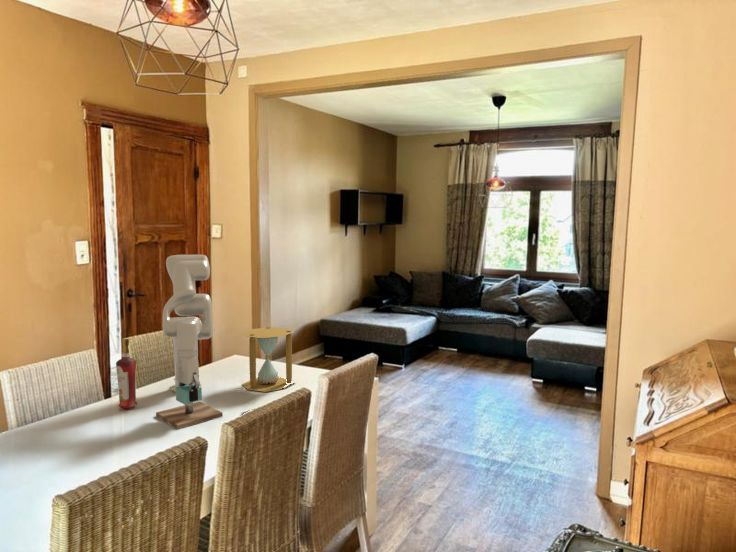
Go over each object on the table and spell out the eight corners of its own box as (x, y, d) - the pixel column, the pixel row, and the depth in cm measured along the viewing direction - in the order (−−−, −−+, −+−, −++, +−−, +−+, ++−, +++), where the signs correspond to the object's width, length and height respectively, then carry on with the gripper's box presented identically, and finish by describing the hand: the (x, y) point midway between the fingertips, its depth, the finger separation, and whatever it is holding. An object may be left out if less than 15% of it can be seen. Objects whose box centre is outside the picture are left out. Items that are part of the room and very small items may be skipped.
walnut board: (156, 416, 203) (156, 412, 203) (199, 404, 216) (199, 401, 216) (177, 429, 190) (177, 425, 190) (222, 416, 203) (222, 412, 203)
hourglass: (272, 374, 260) (271, 324, 257) (304, 383, 245) (303, 330, 243) (232, 385, 241) (231, 331, 239) (264, 395, 227) (263, 338, 225)
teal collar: (176, 400, 202) (175, 387, 202) (193, 395, 207) (192, 383, 207) (184, 404, 197) (184, 391, 197) (201, 400, 202) (201, 387, 202)
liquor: (113, 409, 210) (110, 340, 208) (129, 403, 217) (126, 336, 214) (126, 412, 207) (123, 342, 204) (141, 406, 213) (139, 338, 211)
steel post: (183, 412, 203) (183, 397, 202) (191, 410, 205) (190, 395, 204) (187, 414, 201) (187, 399, 200) (194, 412, 203) (194, 397, 202)
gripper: (167, 350, 204) (169, 395, 206) (189, 358, 192) (190, 406, 194) (186, 347, 209) (187, 391, 211) (208, 355, 197) (209, 401, 199)
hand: (188, 398), depth 202 cm, fingers closed on teal collar, 7 cm apart
